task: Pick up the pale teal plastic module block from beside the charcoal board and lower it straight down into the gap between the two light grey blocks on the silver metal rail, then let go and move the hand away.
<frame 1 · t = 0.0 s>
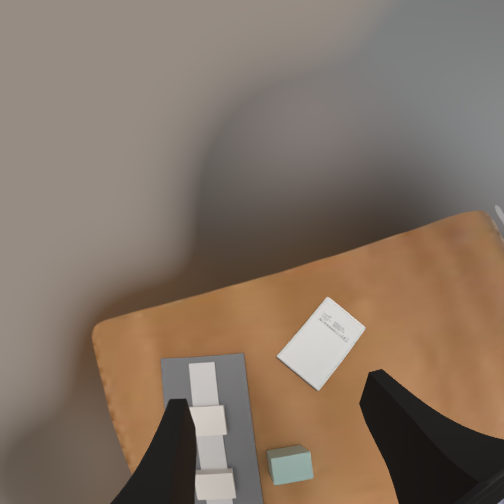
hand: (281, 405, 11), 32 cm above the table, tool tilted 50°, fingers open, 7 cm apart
rail board: (212, 449, 35), on the table
external hard drive: (321, 344, 44), on the table
module: (285, 459, 35), on the table
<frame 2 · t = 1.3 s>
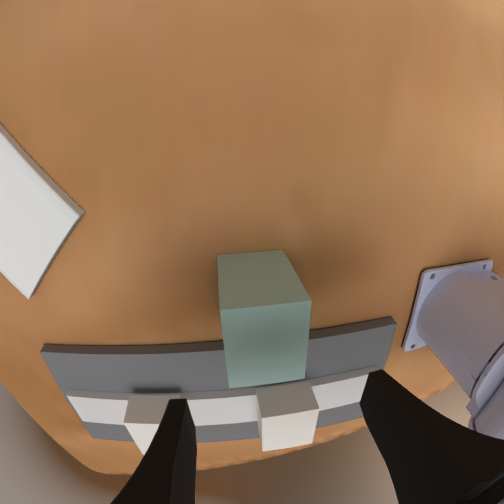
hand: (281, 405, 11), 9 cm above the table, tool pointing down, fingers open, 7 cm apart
rail board: (220, 395, 23), on the table
external hard drive: (4, 195, 15), on the table
module: (251, 288, 19), on the table
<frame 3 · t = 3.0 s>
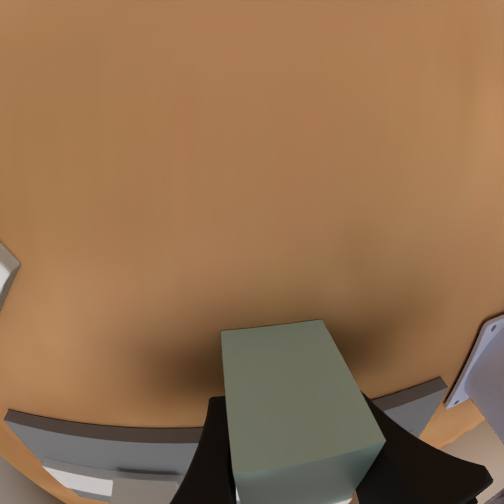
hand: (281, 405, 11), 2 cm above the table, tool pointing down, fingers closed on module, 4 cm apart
rail board: (226, 471, 16), on the table
module: (272, 370, 12), on the table, touching gripper
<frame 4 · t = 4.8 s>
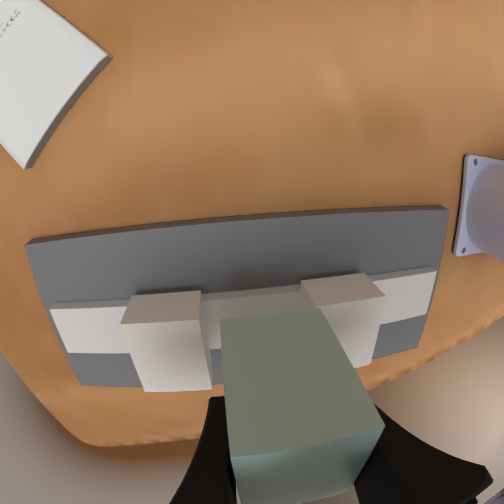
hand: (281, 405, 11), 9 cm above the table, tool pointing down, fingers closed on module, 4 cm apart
rail board: (249, 306, 19), on the table
external hard drive: (21, 64, 12), on the table
module: (271, 360, 13), point 7 cm above the table, touching gripper
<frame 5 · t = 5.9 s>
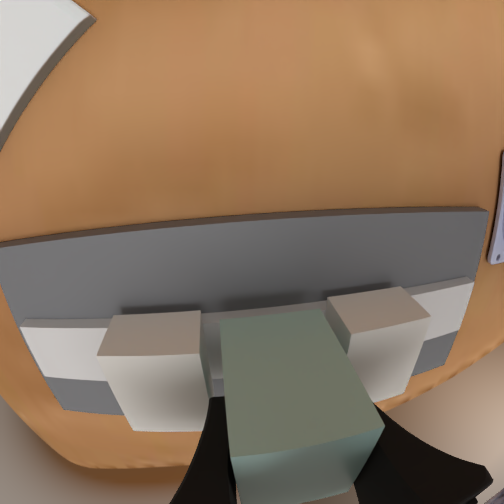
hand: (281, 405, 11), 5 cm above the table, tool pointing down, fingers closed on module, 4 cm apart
rail board: (260, 326, 15), on the table
module: (271, 360, 13), point 3 cm above the table, touching gripper
when the fingers open (5 cm above the table, at t = 6.4 s): module drops 1 cm, resting on rail board.
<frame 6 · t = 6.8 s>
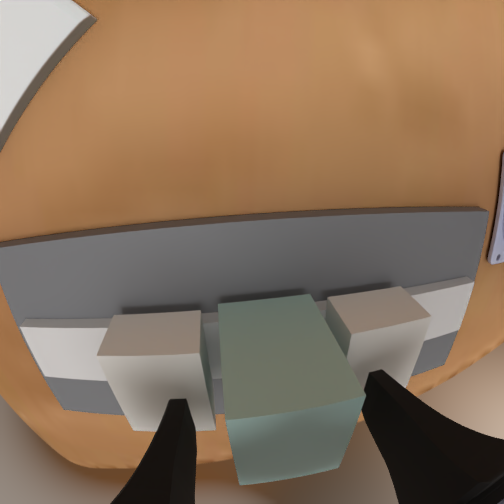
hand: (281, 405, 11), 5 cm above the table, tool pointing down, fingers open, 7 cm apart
rail board: (261, 326, 15), on the table
module: (266, 343, 14), point 2 cm above the table, touching rail board
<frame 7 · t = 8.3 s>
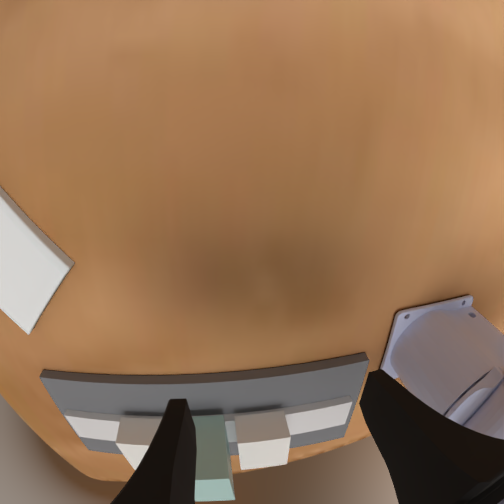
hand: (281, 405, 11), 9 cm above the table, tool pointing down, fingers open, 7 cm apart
rail board: (203, 418, 24), on the table
external hard drive: (0, 240, 16), on the table
module: (203, 432, 22), point 2 cm above the table, touching rail board
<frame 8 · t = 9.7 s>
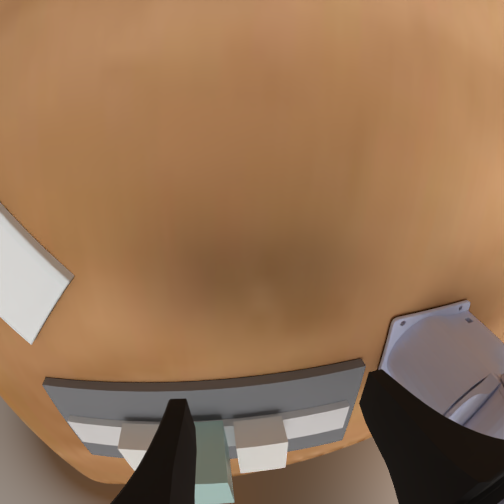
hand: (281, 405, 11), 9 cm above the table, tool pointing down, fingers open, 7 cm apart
rail board: (203, 423, 24), on the table
external hard drive: (0, 252, 17), on the table
module: (203, 437, 22), point 2 cm above the table, touching rail board
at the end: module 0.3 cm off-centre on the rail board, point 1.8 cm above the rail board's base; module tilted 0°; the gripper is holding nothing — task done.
